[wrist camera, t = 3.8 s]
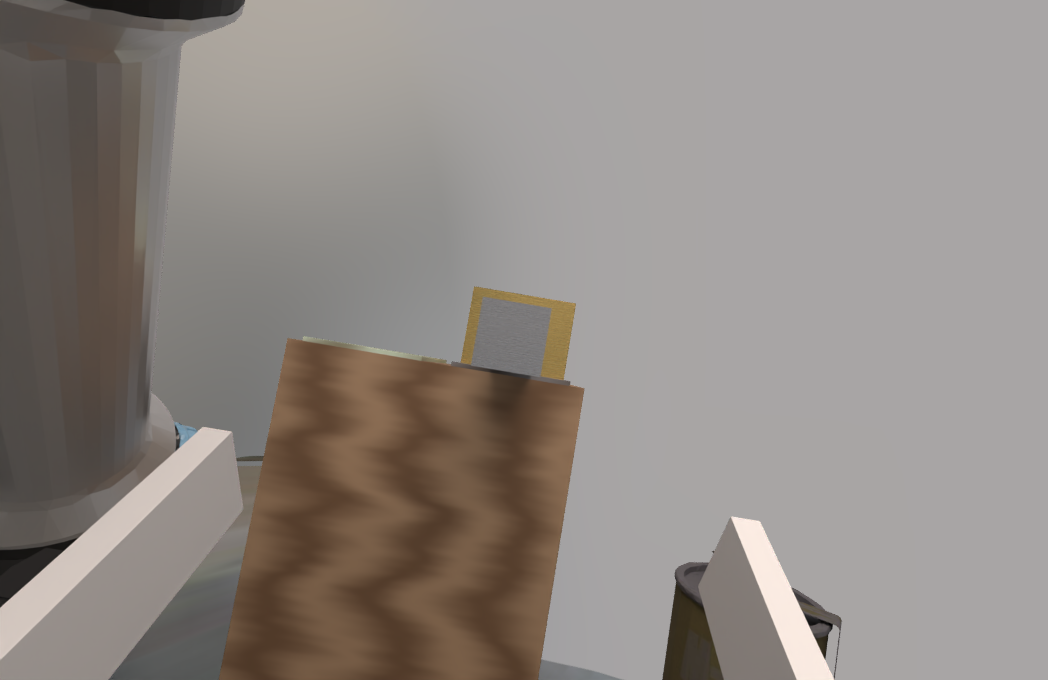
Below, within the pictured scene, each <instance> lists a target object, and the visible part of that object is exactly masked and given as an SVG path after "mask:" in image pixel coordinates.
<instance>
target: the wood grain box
mask: <svg viewBox="0 0 1048 680" xmlns="http://www.w3.org/2000/svg"><path fill="white" fill-rule="evenodd" d="M583 394H584V388H581V387H577V386H573V385H570V381H565V380H559V379H554V378H548V377H542V376H540V377H535V376H530V375H524V374H518V373H512V372H506V371H500V370H494V369H488V368H482V367H476V366H471V364H465V363H458V362H451V364H446V360H442V359H436V358H430V357H425V356H419V355H413V354H407V353H401V352H395V351H389V350H383V349H377V348H371V347H366V346H360V345H354V344H347V343H341V342H335V341H329V340H323V339H317V338H310V337H303V340H296V339H289V338H288V339H287V344H286V349H285V354H284V360H283V364H282V369H281V374H280V379H279V384H278V389H277V394H276V399H275V404H274V409H273V414H272V419H271V424H270V428H269V434H268V438H267V443H266V448H265V453H264V458H263V463H262V468H261V473H260V478H259V483H258V488H257V493H256V498H255V503H254V508H253V513H252V518H251V523H250V527H249V532H248V537H247V542H246V547H245V552H244V557H243V562H242V567H241V572H240V577H239V582H238V587H237V592H236V597H235V602H234V607H233V612H232V617H231V622H230V627H229V631H228V636H227V641H226V646H225V651H224V656H223V661H222V666H221V671H220V676H219V680H538V676H539V669H540V663H541V657H542V651H543V644H544V638H545V632H546V626H547V619H548V613H549V607H550V600H551V594H552V588H553V582H554V575H555V569H556V563H557V557H558V551H559V544H560V538H561V532H562V526H563V519H564V513H565V507H566V501H567V494H568V488H569V482H570V475H571V469H572V463H573V457H574V450H575V444H576V437H577V432H578V426H579V419H580V413H581V407H582V401H583Z"/></svg>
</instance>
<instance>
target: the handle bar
mask: <svg viewBox="0 0 1048 680" xmlns="http://www.w3.org/2000/svg"><path fill="white" fill-rule="evenodd" d="M575 306H576V304H575V303H568V302H563V301H557V300H551V299H545V298H539V297H533V296H528V295H522V294H515V293H510V292H504V291H498V290H492V289H486V288H480V287H474V291H473V297H472V302H471V308H470V313H469V319H468V325H467V331H466V336H465V342H464V347H463V353H462V359H461V363H465V364H471V366H476V367H482V368H488V369H494V370H500V371H506V372H512V373H518V374H524V375H530V376H535V377H540V376H542V377H548V378H554V379H559V380H564V374H565V368H566V361H567V355H568V349H569V343H570V337H571V330H572V325H573V318H574V312H575Z"/></svg>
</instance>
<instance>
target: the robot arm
mask: <svg viewBox="0 0 1048 680" xmlns="http://www.w3.org/2000/svg"><path fill="white" fill-rule="evenodd" d="M244 3H245V0H0V680H108V679H109V678H110V677H111V676H112V674H113V673H114V672H115V671H116V669H117V668H118V667H119V666H120V664H121V663H122V662H123V661H124V659H125V658H126V657H127V656H128V654H129V653H130V652H131V650H132V649H133V648H134V647H135V645H136V644H137V643H138V642H139V640H140V639H141V638H142V637H143V635H144V634H145V633H146V632H147V630H148V629H149V628H150V627H151V625H152V624H153V623H154V621H155V620H156V619H157V618H158V616H159V615H160V614H161V613H162V611H163V610H164V609H165V608H166V606H167V605H168V604H169V603H170V601H171V600H172V599H173V598H174V596H175V595H176V594H177V592H178V591H179V590H180V589H181V587H182V586H183V585H184V584H185V582H186V581H187V580H188V579H189V577H190V576H191V575H192V574H193V572H194V571H195V570H196V569H197V567H198V566H199V565H200V563H201V562H202V561H203V560H204V558H205V557H206V556H207V555H208V553H209V552H210V551H211V550H212V548H213V547H214V546H215V545H216V543H217V542H218V541H219V540H220V538H221V537H222V536H223V534H224V533H225V532H226V531H227V529H228V528H229V527H230V526H231V524H232V523H233V522H234V521H235V519H236V518H237V517H238V516H239V514H240V513H241V512H242V511H243V503H242V496H241V490H240V483H239V476H238V469H237V462H236V456H235V449H234V442H233V435H232V432H230V431H223V430H218V429H212V428H206V427H203V428H201V429H200V430H199V431H197V430H196V429H194V428H193V427H189V426H184V425H181V424H180V423H177V422H173V419H172V417H171V414H170V413H169V411H168V409H167V408H166V407H165V405H164V404H163V403H162V402H161V401H160V399H159V398H158V397H157V396H155V395H154V394H153V393H152V392H151V391H152V380H153V368H154V357H155V345H156V333H157V322H158V311H159V298H160V287H161V276H162V264H163V253H164V240H165V229H166V218H167V206H168V195H169V184H170V172H171V160H172V149H173V137H174V125H175V114H176V102H177V90H178V79H179V68H180V56H181V46H182V45H183V43H184V42H185V41H187V40H189V39H192V38H194V37H197V36H200V35H202V34H205V33H208V32H210V31H213V30H216V29H219V28H222V27H224V26H226V25H228V24H231V23H233V22H235V21H236V20H237V19H238V17H239V16H240V15H241V14H242V11H243V7H244ZM698 588H699V592H700V595H701V599H702V603H703V606H704V610H705V613H706V617H707V621H708V624H709V628H710V632H711V635H712V639H713V642H714V646H715V650H716V653H717V657H718V660H719V664H720V668H721V671H722V675H723V678H724V680H834V678H833V676H832V674H831V672H830V670H829V668H828V665H827V663H826V661H825V659H824V657H823V655H822V653H821V651H820V648H819V646H818V644H817V642H816V640H815V638H814V636H813V634H812V631H811V629H810V627H809V625H808V623H807V621H806V619H805V616H804V614H803V612H802V610H801V608H800V606H799V604H798V602H797V599H796V597H795V595H794V593H793V591H792V589H791V587H790V584H789V582H788V580H787V578H786V576H785V574H784V572H783V570H782V567H781V566H780V563H779V561H778V559H777V557H776V555H775V552H774V550H773V548H772V546H771V544H770V542H769V540H768V538H767V536H766V533H765V531H764V529H763V527H762V525H761V523H760V521H755V520H749V519H743V518H737V517H730V519H729V521H728V523H727V525H726V528H725V530H724V532H723V534H722V536H721V538H720V541H719V543H718V545H717V547H716V549H715V551H714V553H713V556H712V558H711V560H710V562H709V564H708V566H707V568H706V571H705V573H704V575H703V577H702V579H701V581H700V583H699V586H698Z"/></svg>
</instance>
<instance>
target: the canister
mask: <svg viewBox="0 0 1048 680" xmlns="http://www.w3.org/2000/svg"><path fill="white" fill-rule="evenodd" d="M713 553H714V551H713ZM708 564H709V563H693V562H689V563H686V564H684V565H681V566H679V567H678V568H677V569H676V571H675V579H676V587H675V595H674V602H673V608H672V616H671V623H670V630H669V637H668V644H667V651H666V658H665V665H664V672H663V679H662V680H724V678H723V675H722V671H721V668H720V664H719V660H718V657H717V653H716V650H715V646H714V642H713V639H712V635H711V632H710V628H709V624H708V621H707V617H706V613H705V610H704V606H703V603H702V599H701V595H700V592H699V588H698V586H699V583H700V581H701V579H702V577H703V575H704V573H705V571H706V568H707V566H708ZM791 589H792V591H793V593H794V595H795V597H796V599H797V602H798V604H799V606H800V608H801V610H802V612H803V614H804V616H805V619H806V621H807V623H808V625H809V627H810V629H811V631H812V634H813V636H814V638H815V640H816V642H817V644H818V646H819V648H820V651H821V653H822V655H823V657H824V659H825V657H826V649H827V641H828V634H829V632H830V631H831V630H832V627H833V624H834V625H836V626H837V627H839V630H841V618H840V617H839V616H837V615H835V614H832V613H829V612H827V611H825V610H824V609H823V608H822V607H821V606H820V605H819V604H818V603H816V602H814V601H813V600H812V599H810V598H809V597H807V596H805V595H804V594H802V593H801V592H799V591H798V590H796V589H794V588H791ZM839 638H840V633H839ZM838 645H839V640H838ZM837 655H838V649H837ZM836 663H837V658H836ZM835 671H836V665H835ZM834 680H835V673H834Z"/></svg>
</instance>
